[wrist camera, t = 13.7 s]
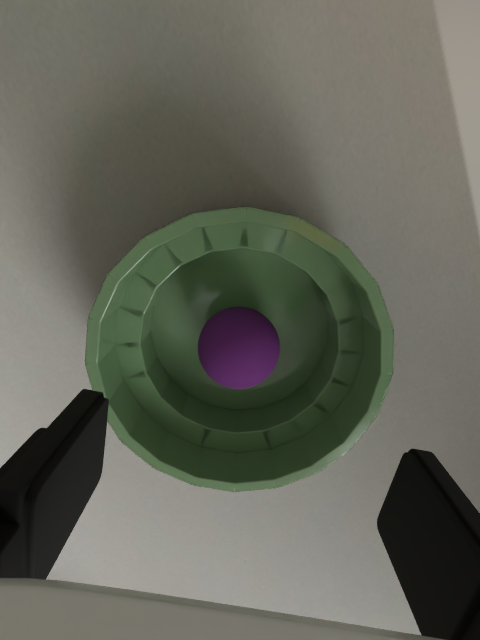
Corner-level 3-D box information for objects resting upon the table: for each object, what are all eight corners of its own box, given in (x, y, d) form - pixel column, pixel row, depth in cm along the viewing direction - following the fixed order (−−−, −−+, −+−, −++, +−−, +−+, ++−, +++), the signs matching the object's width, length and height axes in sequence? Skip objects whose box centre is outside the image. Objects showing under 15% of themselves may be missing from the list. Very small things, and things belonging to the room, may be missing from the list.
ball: (284, 306, 20) (293, 330, 16) (268, 373, 22) (272, 412, 18) (210, 291, 20) (199, 312, 16) (198, 360, 22) (185, 396, 17)
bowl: (387, 235, 20) (440, 246, 15) (321, 444, 24) (343, 509, 19) (136, 183, 19) (96, 175, 14) (113, 409, 23) (77, 467, 18)
